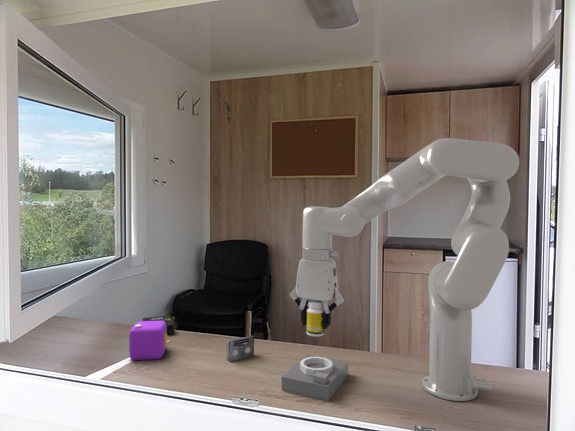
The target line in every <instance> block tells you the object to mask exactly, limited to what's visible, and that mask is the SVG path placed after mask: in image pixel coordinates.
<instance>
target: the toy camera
mask: <svg viewBox="0 0 575 431" xmlns="http://www.w3.org/2000/svg"><path fill="white" fill-rule="evenodd" d="M128 337H129V339H128V340H129V341H128V342H129V343H128V345H129V350H128V351H129V358H130V360H132V361H147V360H150V361H151V360H152V361H153V360H160V359H161V358H162V357H163V356H164V353H165V351H166V350H167V347H168V346H167V344H168V340H169V339H168V338H169V336H167V325H166V322H165V321H143V320H142V321H138V322H136V323H135V324H134V325H133V327H131V328H130V331H129V336H128Z"/></svg>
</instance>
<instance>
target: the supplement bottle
mask: <svg viewBox="0 0 575 431" xmlns="http://www.w3.org/2000/svg"><path fill="white" fill-rule="evenodd" d="M323 313H324V306H323V302H322V301H316V300H309V301H308V309H307V325H306V326H305V327H306V329H305V330H306V334H307V335H308V336H310V337H323V336H324V335H325V334H326V333H325V332H326V329H323V328H322V319H323Z"/></svg>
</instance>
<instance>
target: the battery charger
mask: <svg viewBox="0 0 575 431" xmlns="http://www.w3.org/2000/svg"><path fill="white" fill-rule="evenodd" d="M142 321H165V322H166V325H167V336H168V337H169V336H174V335H175V327H174V322H173V320H172V319H171V317H170V315H162V316H161V315H160V316H150V317H142Z"/></svg>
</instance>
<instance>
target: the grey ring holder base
mask: <svg viewBox="0 0 575 431" xmlns="http://www.w3.org/2000/svg"><path fill="white" fill-rule="evenodd" d="M348 375H349V361H346V360H340V359H337V358H336V359H335V358H330V357H324V356H319V355H314V354H309V353H308V354H305V355H304V356H303V357H302V358H301V359H300V360H299V361H297V363H295V364H294V365H292V367H291V368H289V369H288V371H287V372H285V373H283V375H282V376H281V391H282V390H283V391H282V392H286V391H287V393H290V392H291V393H290V394H295V395H300V396H304V397H307V398H308V397H309V398H312V399H317V400H320V401H324V402H329V400H331V398H332V397H333V396H334V394H335V393H336V392H337V390H339V388H340V386H341V385H342V383H343V382H344V381H345V379H346V378H347V377H348Z"/></svg>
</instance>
